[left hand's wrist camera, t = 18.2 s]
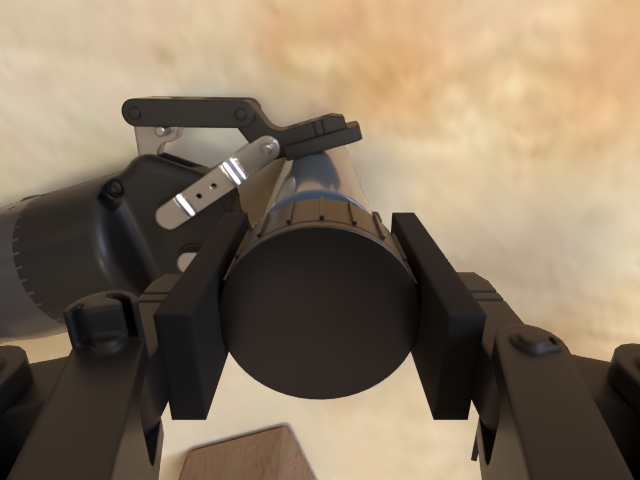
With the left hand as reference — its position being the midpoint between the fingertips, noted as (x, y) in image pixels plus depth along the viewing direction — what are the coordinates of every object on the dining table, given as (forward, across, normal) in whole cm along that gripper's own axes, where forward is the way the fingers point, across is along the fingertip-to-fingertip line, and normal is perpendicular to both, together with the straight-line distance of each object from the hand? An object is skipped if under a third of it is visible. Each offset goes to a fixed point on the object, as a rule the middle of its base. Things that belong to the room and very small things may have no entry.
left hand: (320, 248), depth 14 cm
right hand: (+7, -2, -1) cm, 7 cm away
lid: (-4, 0, 0) cm, 4 cm away
